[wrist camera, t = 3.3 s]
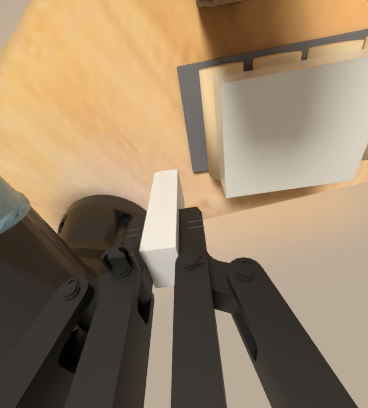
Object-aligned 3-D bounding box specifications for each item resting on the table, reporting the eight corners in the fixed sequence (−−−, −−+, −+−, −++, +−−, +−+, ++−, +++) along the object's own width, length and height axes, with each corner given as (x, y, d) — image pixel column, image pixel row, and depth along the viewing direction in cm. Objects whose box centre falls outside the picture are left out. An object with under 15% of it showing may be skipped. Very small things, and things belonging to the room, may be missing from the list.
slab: (219, 177, 24) (225, 198, 20) (213, 77, 18) (220, 83, 14) (328, 161, 23) (353, 180, 19) (361, 49, 17) (404, 49, 13)
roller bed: (192, 170, 28) (194, 188, 24) (176, 66, 21) (176, 70, 17) (404, 137, 26) (442, 152, 22) (468, 8, 19) (540, -1, 15)
